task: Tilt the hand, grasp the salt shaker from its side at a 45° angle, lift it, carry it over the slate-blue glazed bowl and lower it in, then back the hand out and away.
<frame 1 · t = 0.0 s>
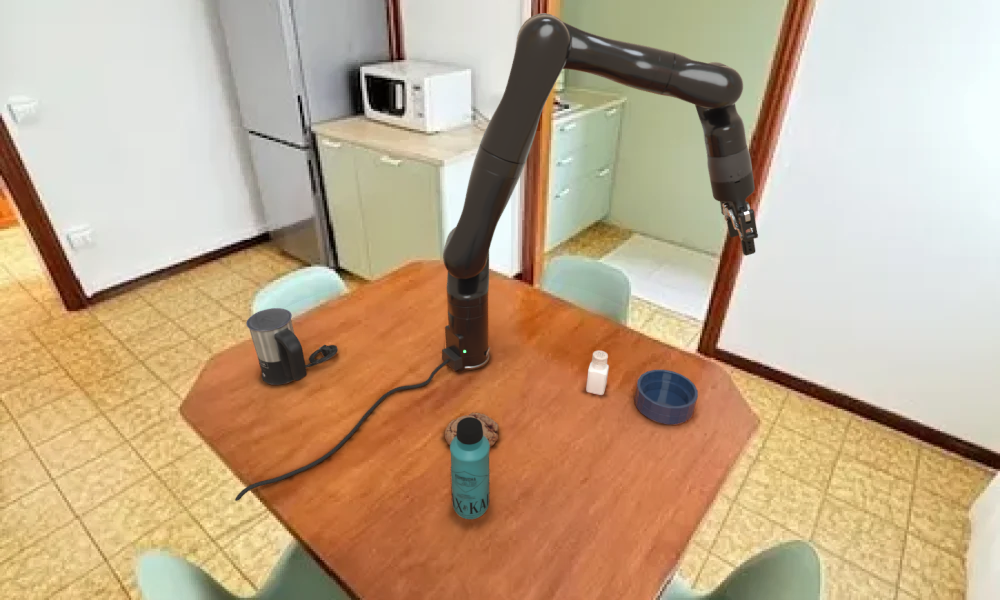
hand: (742, 244, 110), 31 cm above the table, tool tilted 20°, fingers open, 8 cm apart
bowl: (663, 405, 115), on the table
milk frother: (301, 367, 125), on the table
beverage bottle: (471, 510, 92), on the table
salt shaker: (595, 389, 120), on the table
cookie: (472, 436, 107), on the table
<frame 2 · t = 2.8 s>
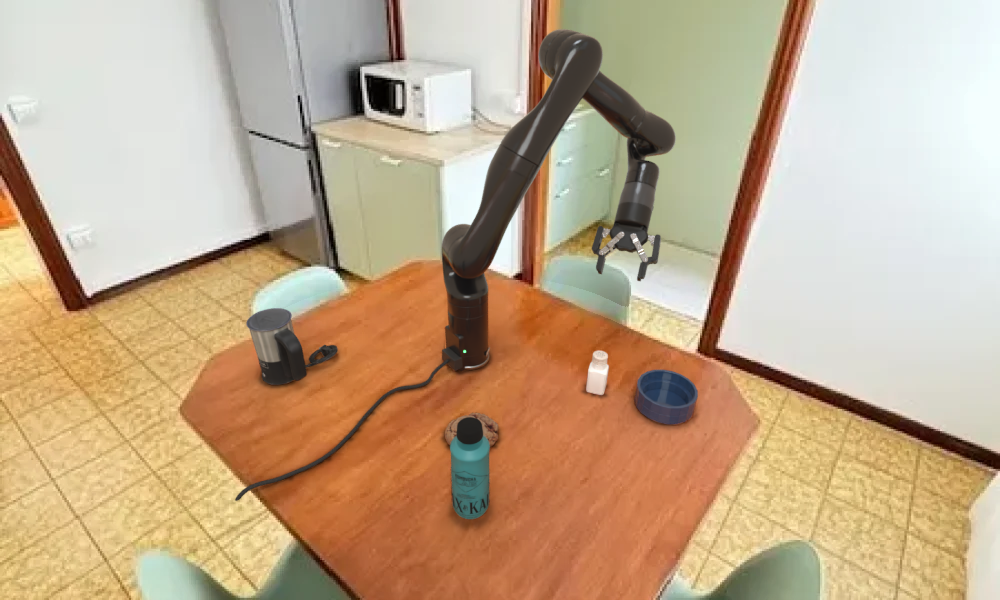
hand: (619, 276, 117), 22 cm above the table, tool tilted 40°, fingers open, 8 cm apart
nothing on the table moved.
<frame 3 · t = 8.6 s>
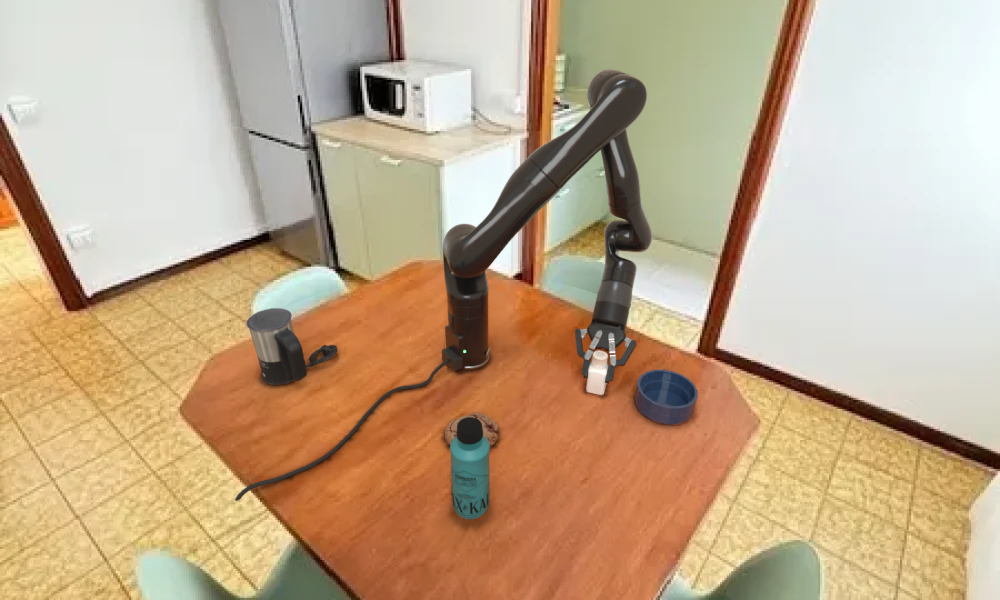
hand: (596, 380, 116), 4 cm above the table, tool tilted 45°, fingers closed on salt shaker, 4 cm apart
salt shaker: (595, 389, 120), on the table, touching gripper
everything else where it was.
when the fingers open (5 cm above the table, at t = 17.8 s): salt shaker stays where it is, resting on bowl.
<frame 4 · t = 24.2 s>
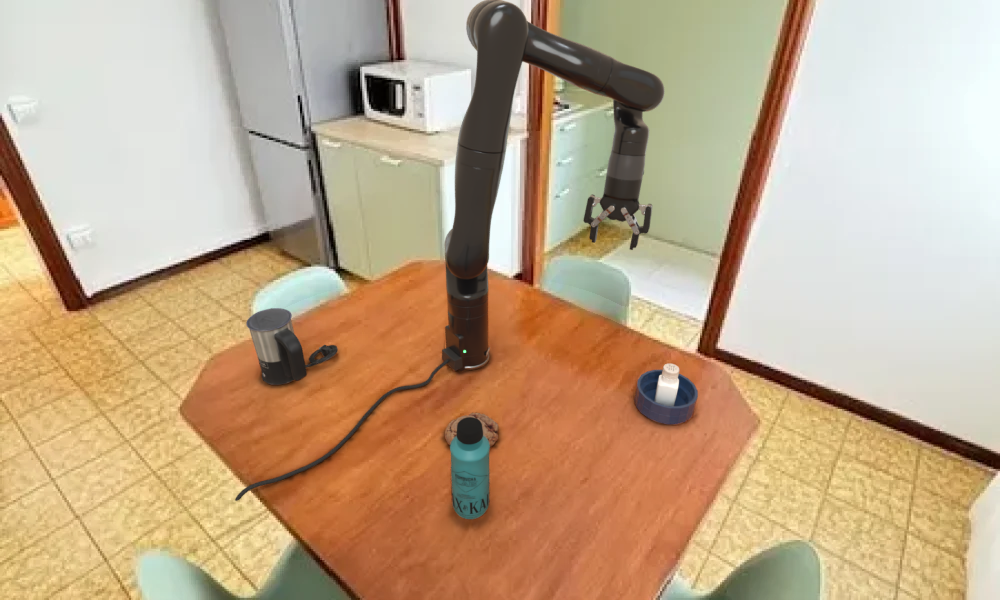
hand: (612, 245, 121), 26 cm above the table, tool pointing down, fingers open, 8 cm apart
salt shaker: (663, 403, 115), resting on bowl
everything else where it was.
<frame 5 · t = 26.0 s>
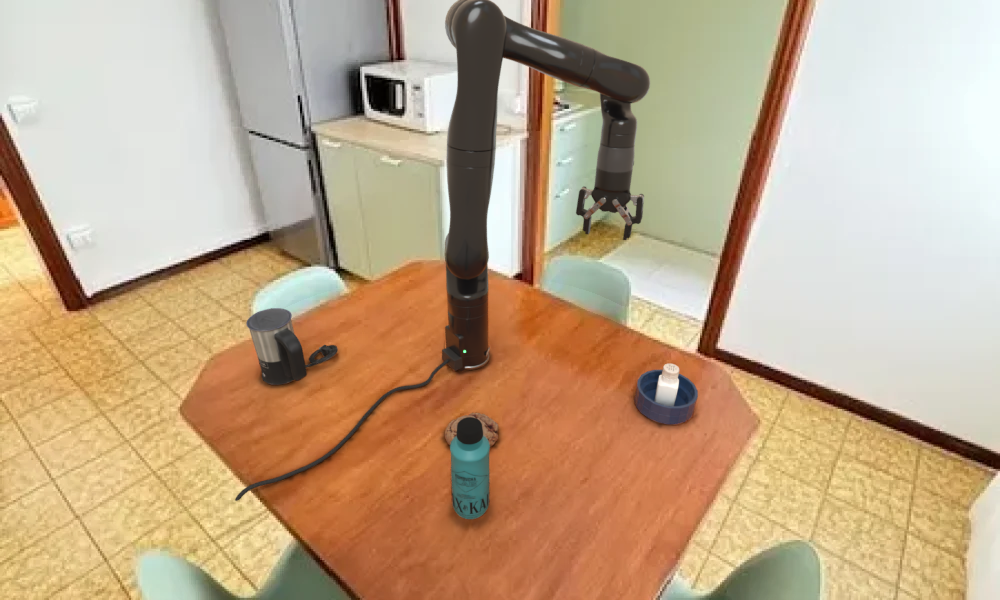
hand: (606, 236, 122), 28 cm above the table, tool pointing down, fingers open, 8 cm apart
nothing on the table moved.
at the end: salt shaker inside the target area in the bowl (0.1 cm from its centre), point 0.4 cm above the bowl's base; the gripper is holding nothing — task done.
